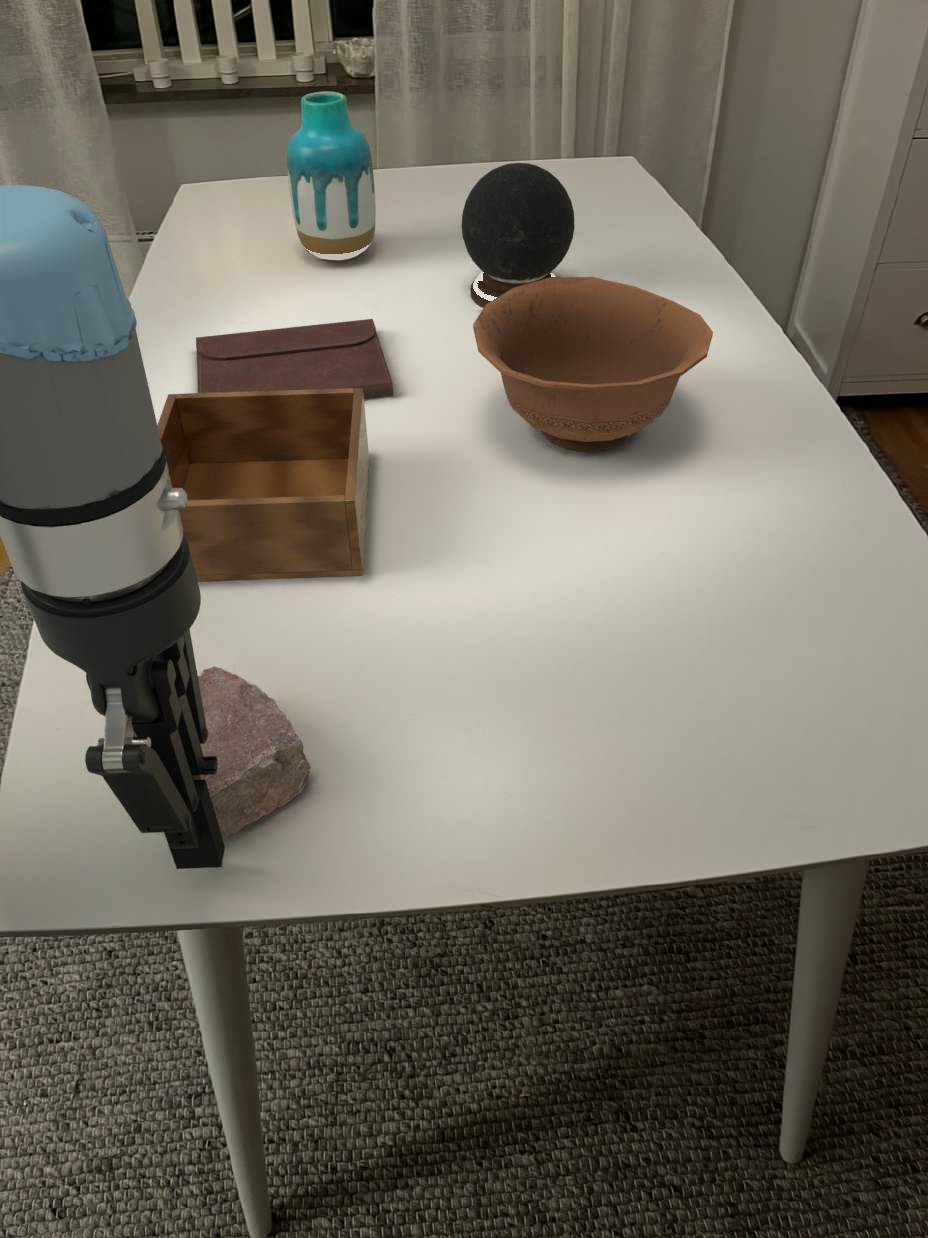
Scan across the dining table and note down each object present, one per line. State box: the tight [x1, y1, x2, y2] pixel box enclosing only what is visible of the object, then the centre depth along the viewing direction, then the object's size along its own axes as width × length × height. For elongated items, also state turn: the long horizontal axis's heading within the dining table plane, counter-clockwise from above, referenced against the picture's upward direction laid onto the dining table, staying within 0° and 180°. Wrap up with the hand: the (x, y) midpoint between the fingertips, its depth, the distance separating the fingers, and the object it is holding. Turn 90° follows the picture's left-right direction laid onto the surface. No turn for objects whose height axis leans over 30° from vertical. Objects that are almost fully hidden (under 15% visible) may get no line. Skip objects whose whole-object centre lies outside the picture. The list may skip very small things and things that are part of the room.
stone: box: [198, 666, 311, 840], centre depth 68 cm, size 12×9×5 cm
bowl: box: [472, 276, 714, 453], centre depth 97 cm, size 22×22×11 cm
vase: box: [286, 91, 377, 254], centre depth 127 cm, size 11×11×19 cm
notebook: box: [195, 318, 394, 400], centre depth 109 cm, size 15×20×2 cm
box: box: [157, 388, 370, 582], centre depth 88 cm, size 18×18×8 cm
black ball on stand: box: [460, 162, 576, 309], centre depth 119 cm, size 13×13×15 cm
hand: (201, 857), depth 62 cm, fingers closed
